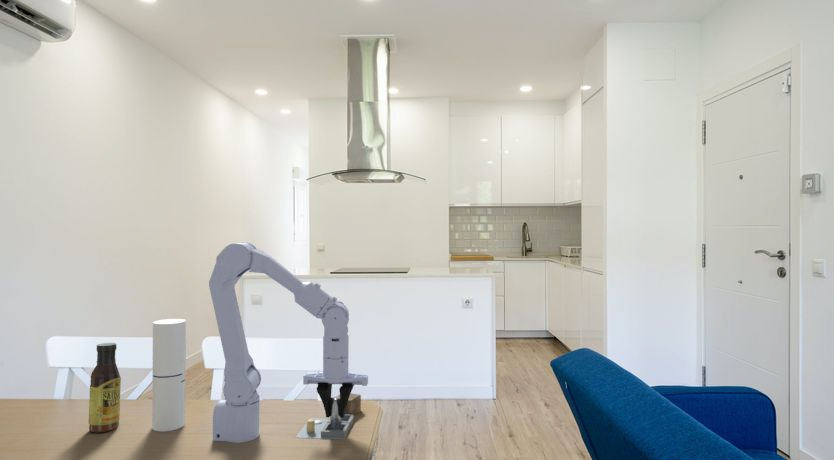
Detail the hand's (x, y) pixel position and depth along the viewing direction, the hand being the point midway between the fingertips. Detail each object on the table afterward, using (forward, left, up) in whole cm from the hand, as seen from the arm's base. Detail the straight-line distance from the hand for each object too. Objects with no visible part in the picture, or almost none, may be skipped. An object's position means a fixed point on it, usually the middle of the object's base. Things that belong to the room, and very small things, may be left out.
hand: (335, 416), depth 118 cm
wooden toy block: (0, +13, -5) cm, 14 cm away
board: (-3, +2, -5) cm, 6 cm away
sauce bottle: (-55, 0, -5) cm, 56 cm away
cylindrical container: (-41, +3, -5) cm, 42 cm away
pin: (0, 0, -2) cm, 2 cm away
